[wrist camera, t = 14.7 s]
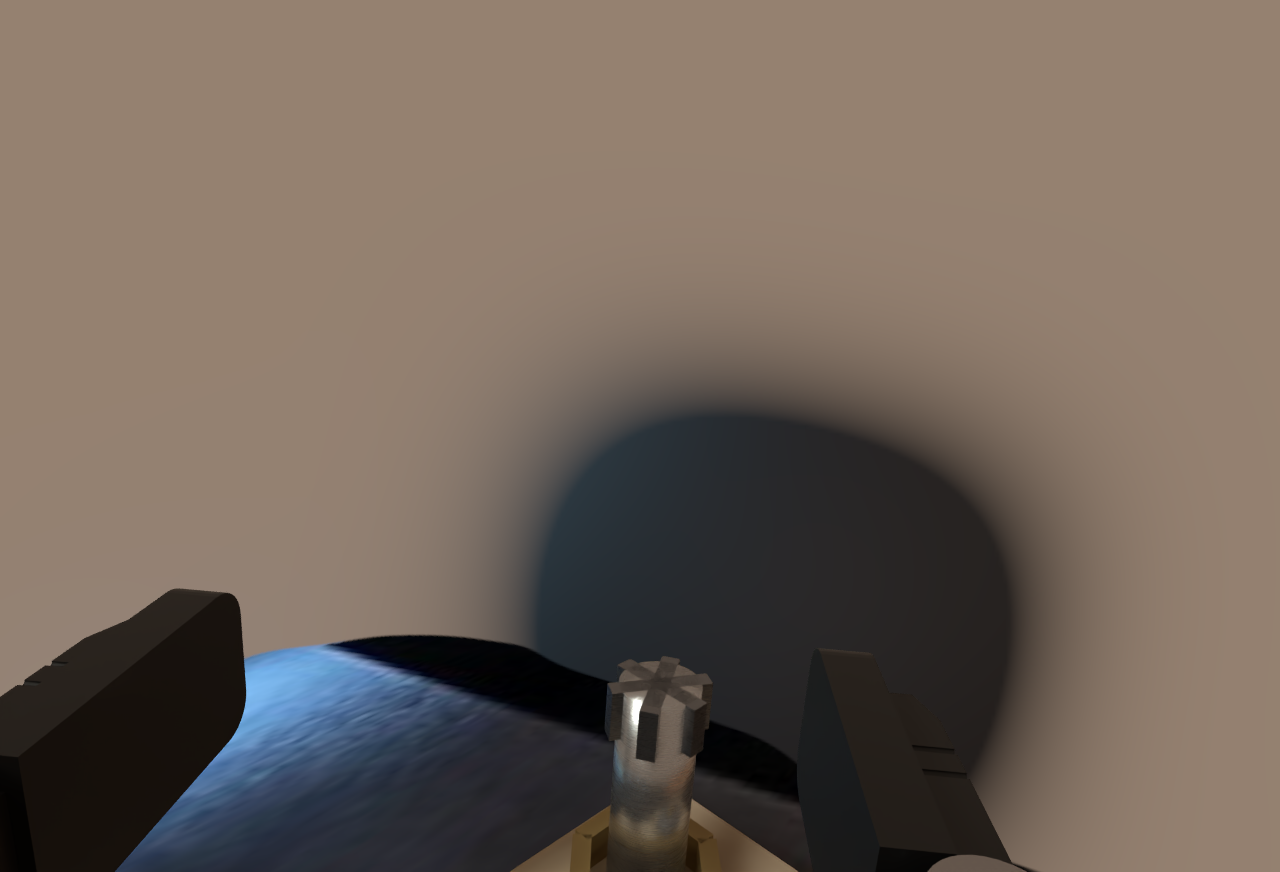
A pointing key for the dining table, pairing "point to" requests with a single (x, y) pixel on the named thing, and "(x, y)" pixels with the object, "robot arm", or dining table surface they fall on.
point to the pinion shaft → (653, 762)
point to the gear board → (715, 858)
